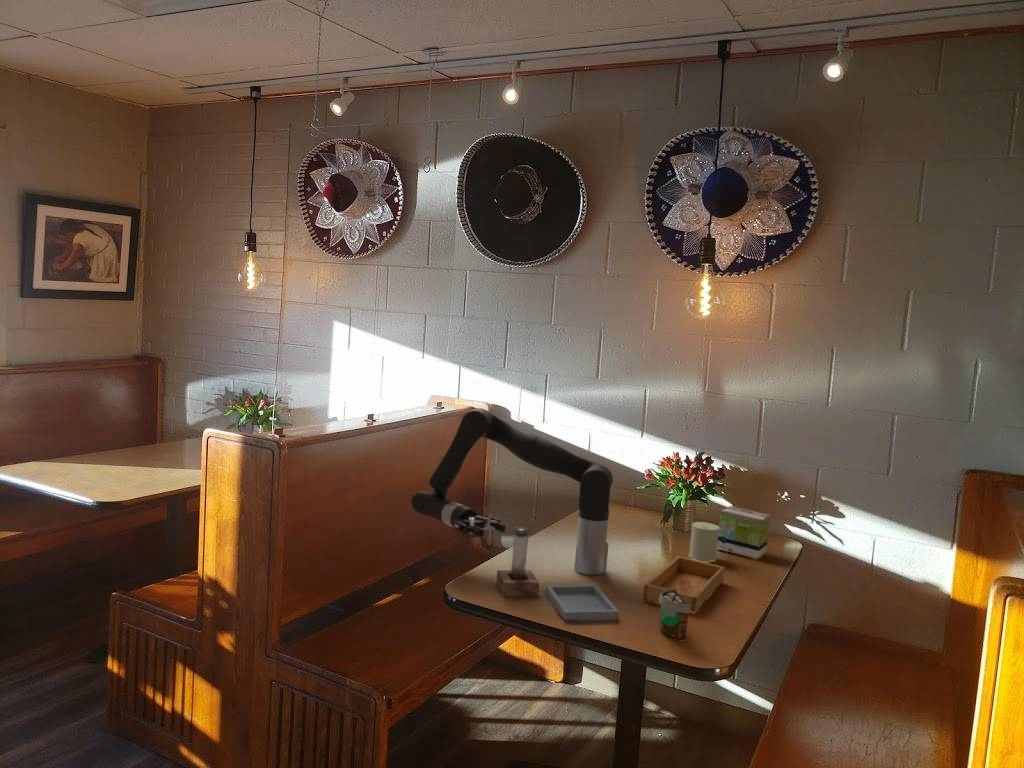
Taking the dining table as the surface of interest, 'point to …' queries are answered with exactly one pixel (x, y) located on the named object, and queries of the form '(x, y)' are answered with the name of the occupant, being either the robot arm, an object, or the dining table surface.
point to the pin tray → (581, 603)
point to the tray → (686, 581)
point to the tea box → (743, 531)
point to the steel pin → (519, 553)
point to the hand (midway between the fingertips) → (493, 531)
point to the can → (704, 541)
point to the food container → (673, 614)
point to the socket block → (517, 584)
